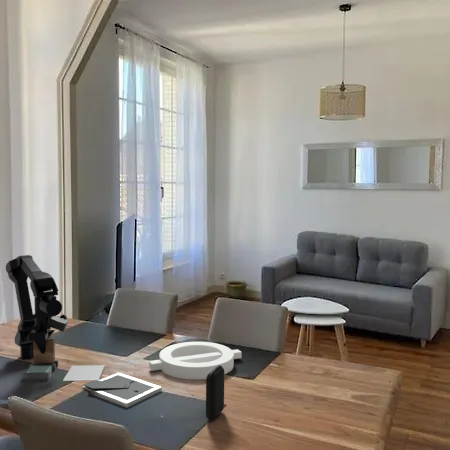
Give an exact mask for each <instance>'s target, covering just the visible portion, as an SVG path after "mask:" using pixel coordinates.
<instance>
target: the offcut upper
mask: <svg viewBox="0 0 450 450" xmlns="http://www.w3.org/2000/svg"><path fill="white" fill-rule="evenodd" d="M51 369H52V366H31V367H30V366H29V368H28V370H27V371H26V373H49V371H50V370H51Z"/></svg>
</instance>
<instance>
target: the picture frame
mask: <svg viewBox="0 0 450 450" xmlns="http://www.w3.org/2000/svg"><path fill="white" fill-rule="evenodd" d="M82 388H83V389H84V390H87V391H88V392H87V393H88V394H89V395H92V396H95V397H97V398H100V399H102V400H105V401H107V402H110V403H113V404H116V405H118V406H121V407H123V408H130V407H131V406H134V405H136V404H138V403H140V402H142V401H145V400H146V399H148V398H150V397H152V396H155V395H157V394H159V393H161V392H162V391H163V388H162V386H161V385H157V384H154V383H151V382H148V381H145V380H142V379H139V378H136V377H133V376H130V375H127V374H124V373H122V372H116V373H114V374H111V375H108V376H107V377H103V378H100V380H98V381H96V380H90V381H89V382H86V383H83V384H82Z"/></svg>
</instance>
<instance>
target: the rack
mask: <svg viewBox="0 0 450 450" xmlns="http://www.w3.org/2000/svg"><path fill="white" fill-rule="evenodd" d="M31 366H52V371H51V373H50V374H49V373H23V372H22V373H21V380H20V381H21V382H36V381H37V382H39V381H44V382H45V381H49V380H50V378H51V377H52V376H53V374H54V373H55V371H56V370H57V369H58V366H59V360H56V359H55V362H54V363H34V360H32V363H30V364H29V368H30V367H31Z"/></svg>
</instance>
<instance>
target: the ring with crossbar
mask: <svg viewBox="0 0 450 450" xmlns="http://www.w3.org/2000/svg"><path fill="white" fill-rule="evenodd" d="M242 353H243V352H242V351H241V350H239V348H238V349H231V348H230V347H228V346H225V345H223V344H220V343H216V342H210V341H186V342H185V341H184V342H179V343H174V344H171V345H168V346H166V347H164V348H162V349H161V350H160V352H159V353H158V354H159V355H158V356H159V359H155V360H154V359H153V360H149V366H148V367H149V368H148V369H150V371H151V372H153V371H161V372H162V373H164V374H166V375H168V376H171V377H175V378H178V379H185V380H206V378H207V375H208V374H209V373H210V372H211V371H212V370H213V369H214V368H215V367H217V366H218V365H221V366H222V367H223V369H224V375H226V374H228V373H230V372H231V371H232V370H233V368H234V366H235V365H234V362H235V361H234V360H237V359H242Z"/></svg>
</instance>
